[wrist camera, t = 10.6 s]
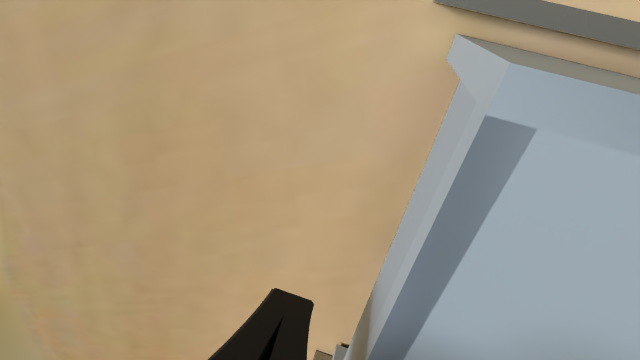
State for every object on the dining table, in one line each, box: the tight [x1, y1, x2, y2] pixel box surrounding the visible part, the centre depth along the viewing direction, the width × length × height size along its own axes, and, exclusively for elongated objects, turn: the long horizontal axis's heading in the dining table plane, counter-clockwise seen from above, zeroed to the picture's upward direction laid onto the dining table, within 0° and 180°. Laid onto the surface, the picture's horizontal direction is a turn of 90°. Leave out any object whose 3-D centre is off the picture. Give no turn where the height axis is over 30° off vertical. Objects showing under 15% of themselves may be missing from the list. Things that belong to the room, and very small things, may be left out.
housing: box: [332, 34, 640, 360], centre depth 11 cm, size 18×10×7 cm, turn 168°
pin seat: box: [313, 0, 640, 360], centre depth 13 cm, size 20×22×3 cm
